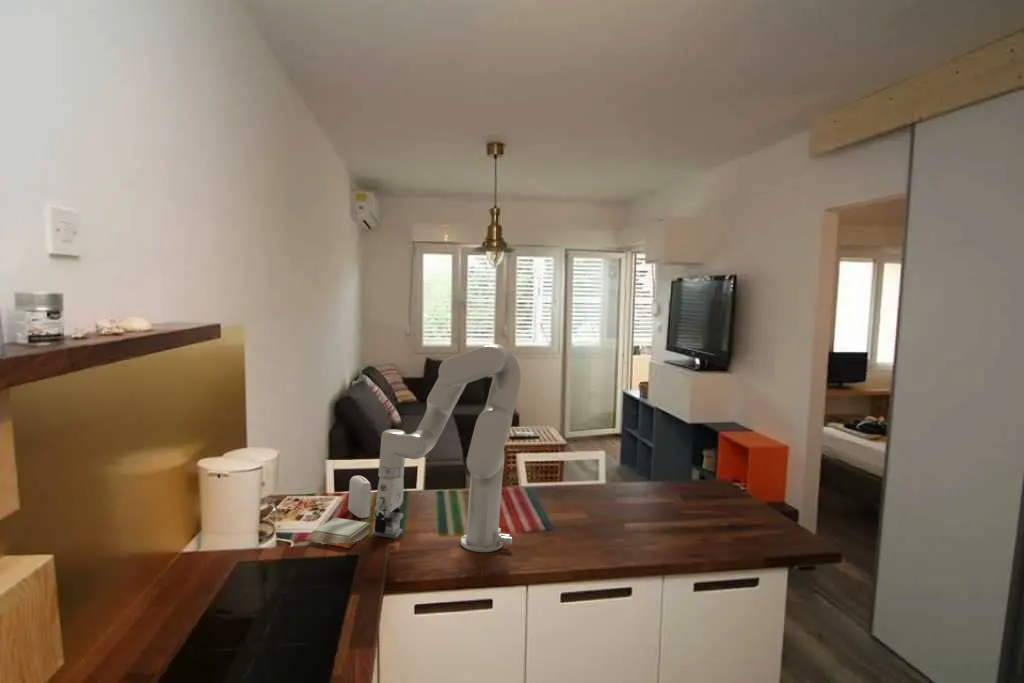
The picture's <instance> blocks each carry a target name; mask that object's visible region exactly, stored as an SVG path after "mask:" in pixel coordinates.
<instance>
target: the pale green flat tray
mask: <svg viewBox="0 0 1024 683" xmlns="http://www.w3.org/2000/svg"><path fill="white" fill-rule="evenodd" d="M370 524H371V523H369V522H366V521H365V522H364V521H359V520H354V519H348V518H347V519H346V518H340V517H333V518H331V519H330V520H328V521H326V522H325V523H324V524H322V525H320V526H319V527H317V528H315V529H314V530H313V531H312V530H311V533H310V534H311V536H310V543H311V544H312V543H314V544H318V543H321V544H320V545H324V544H332V543H334V544H335V543H336V544H337V543H338V544H339V543H352V542H355V541H359V540H360V541H362V539H364V538H365V537H366V536H368V535H369V534H370V528H371V527H370V526H371V525H370ZM360 541H359V542H360Z"/></svg>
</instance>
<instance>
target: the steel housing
mask: <svg viewBox="0 0 1024 683" xmlns="http://www.w3.org/2000/svg"><path fill="white" fill-rule="evenodd" d="M380 512H381V513H382V515H383V513H384V512H382V511H380ZM403 518H404V513H402V512H400V513H396V512H389V511H388V512H387V514H386V517H385V519H386V529H385V533H380V532H375V528H374V529H373V530H372V531H371V532H372V533H371V535H372V536H376V537H382V538H383V537H385V538H391V539H397V538H398V537H399V536H400V535H401V534H403V528H400V526H401V520H402V519H403ZM372 519H373V520H374V521H375V514H373V516H372Z"/></svg>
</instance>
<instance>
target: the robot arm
mask: <svg viewBox="0 0 1024 683" xmlns="http://www.w3.org/2000/svg"><path fill="white" fill-rule="evenodd" d="M490 376H492V378H491V379H492V380H491V384H490V387H489V392H488V397H487V400H486V403H485V406H484V409H483V410H482V411H481V413H479V415H478V417H477V419H476V421H475V425H474V430H473V433H472V435H471V436H472V437H471V440H470V444H469V448H468V451H467V457H466V466H467V470H468V472H469V473H470V480H469V481H470V482H469V491H468V492H469V493H468V503H467V504H468V505H467V519H466V532H465V533H466V534H464V535H462V536H461V538H460V545H461V546H462V548H464V549H466V550H468V551H471V552H478V553H491V552H496V551H498V550H499V549H501V548H502V547H503V544H509V545H512V543H513V537H512V536H511V535H510V534H508V533H507V534H506V533H503V532H502V528H501V527H500V526H499V525H500V514H501V501H502V500H501V499H502V497H501V496H502V488H503V486H502V485H503V476H504V466H505V458H506V457H505V450H504V449H505V446H506V442H507V439H508V434H509V432H510V429H511V427H512V423H513V416H514V414H515V413H514V412H515V409H516V404H517V398H518V395H519V390H520V385H521V376H522V375H521V369H520V366H519V363H518V361H517V358H516V357H515V355H514V354H513V353H512V352H511V351H510V350H509V349H507V348H506V347H505V346H504V345H501V344H498V343H497V344H496V343H492V344H491V343H490V344H487V345H483V346H480V347H478V348H474V349H472V350H470V351H465V352H464V353H460V354H456V355H453V356H450V357H447V358H445V359H443V361H442V362H441V363H440V365H439V367H438V377H437V379H436V381H435V383H434V384H433V387H432V388H431V391H430V392H429V394H428V395H427V398H426V410H425V412H424V415H423V418H422V419H421V421H420V423H419V425H418V426H417V428H416V430H415V431H414V432H412V433H409V434H407V433H406V431H404V430H401V429H391V428H389V429H386V430H384V431H383V432H382V433H381V438H380V439H381V440H380V451H379V460H378V461H379V462H378V464H379V465H378V474H377V475H378V478H379V480H378V485H377V491H376V498H375V500H376V501H375V506H374V508H373V509H374V515H375V520H374V529H375V532H380V533H385V529H386V519H385V517H386V514H387V512H388V511H389V512H396V513H401V512H400V510H401V505H402V504H403V502H404V488H405V486H404V484H405V483H404V474H405V465H406V464H405V463H406V461H405V460H406V459H410V460H419V459H422V458H424V456H426V455H427V454H428V453H429V452H430V451H432V449H434V447H435V446H436V444H437V442H438V440H439V438H440V436H441V434H442V433H443V431H444V429H445V427H446V426H447V423H448V421H449V419H450V417H451V415H452V412H453V410H454V408H455V406H456V405H457V403H458V401H459V400H460V397H461V395H462V394H463V392H464V390H465V388H466V386H467V385H468V384H469V383H472V382H474V381H475V382H476V381H478V380H481V379H483V378H486V377H490ZM380 511H382V512H384V513H383V515H382V513H381V512H380Z"/></svg>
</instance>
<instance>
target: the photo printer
mask: <svg viewBox="0 0 1024 683" xmlns="http://www.w3.org/2000/svg"><path fill="white" fill-rule="evenodd" d="M371 495H372V485H371V482H370V481H369V480H368V479H367V478H366V477H364V476H362V475H354V476H352V477H351V478H350V480H349V487H348V506H347V508H348V511H349V512H350V513H351V514H353V515H354V516H355V517H357V518H360V519H365V518H368V517H369V516H370V514H371V513H370V511H371Z"/></svg>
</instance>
